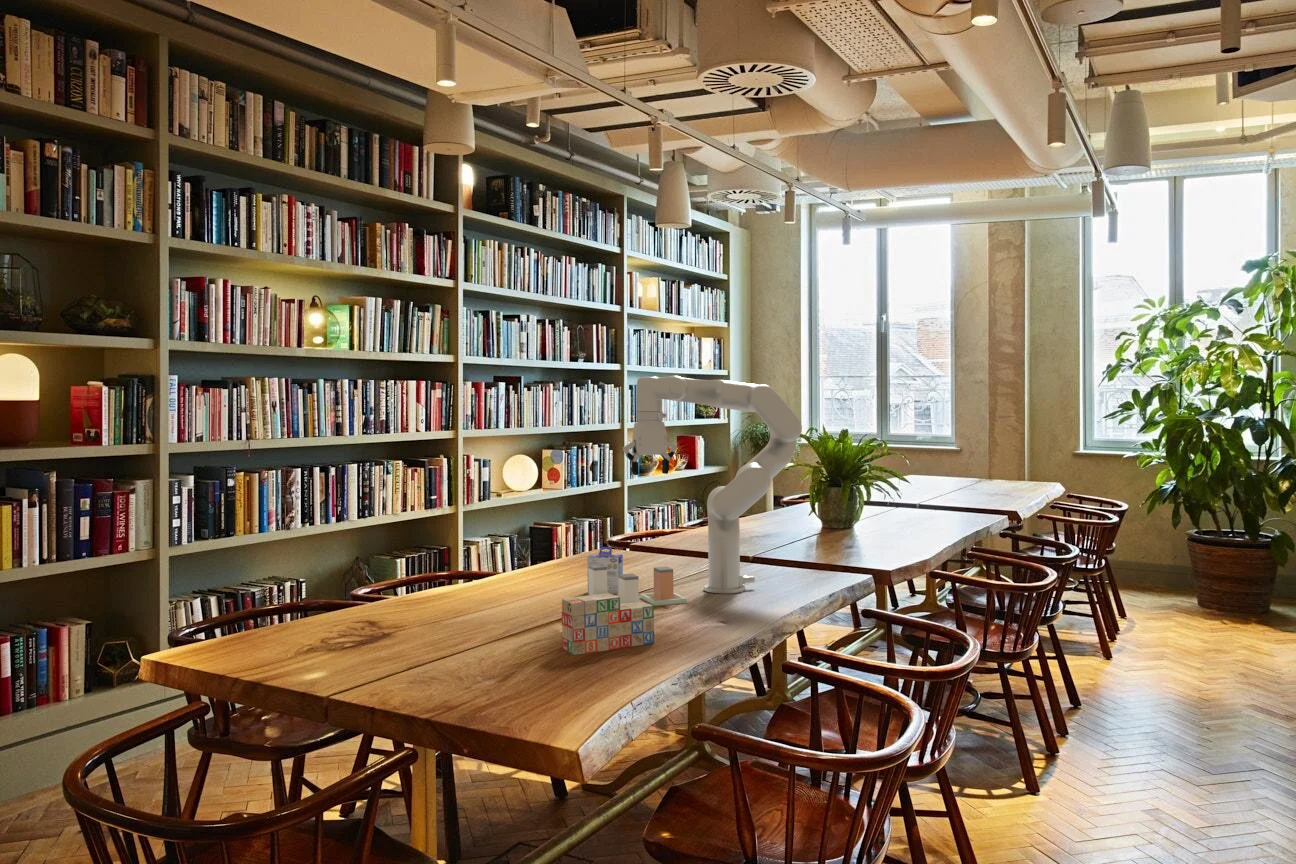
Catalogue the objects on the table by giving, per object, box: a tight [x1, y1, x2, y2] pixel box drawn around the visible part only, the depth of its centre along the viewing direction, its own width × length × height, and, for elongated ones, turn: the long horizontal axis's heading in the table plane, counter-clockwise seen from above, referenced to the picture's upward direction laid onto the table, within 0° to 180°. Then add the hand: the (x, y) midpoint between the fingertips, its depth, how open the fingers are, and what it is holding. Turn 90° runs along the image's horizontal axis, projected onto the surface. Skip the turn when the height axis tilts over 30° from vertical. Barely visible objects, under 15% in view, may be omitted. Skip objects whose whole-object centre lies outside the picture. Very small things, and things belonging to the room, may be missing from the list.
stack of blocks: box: [561, 593, 655, 656], centre depth 239 cm, size 21×6×12 cm, turn 118°
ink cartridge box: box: [586, 546, 624, 595], centre depth 301 cm, size 10×6×14 cm, turn 78°
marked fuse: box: [653, 566, 675, 600], centre depth 287 cm, size 4×5×10 cm
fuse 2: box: [618, 573, 640, 604], centre depth 274 cm, size 4×5×10 cm
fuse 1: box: [588, 564, 607, 595], centre depth 289 cm, size 4×5×10 cm
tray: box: [639, 591, 688, 606], centre depth 287 cm, size 10×12×2 cm
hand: (650, 474), depth 306 cm, fingers open, 9 cm apart
